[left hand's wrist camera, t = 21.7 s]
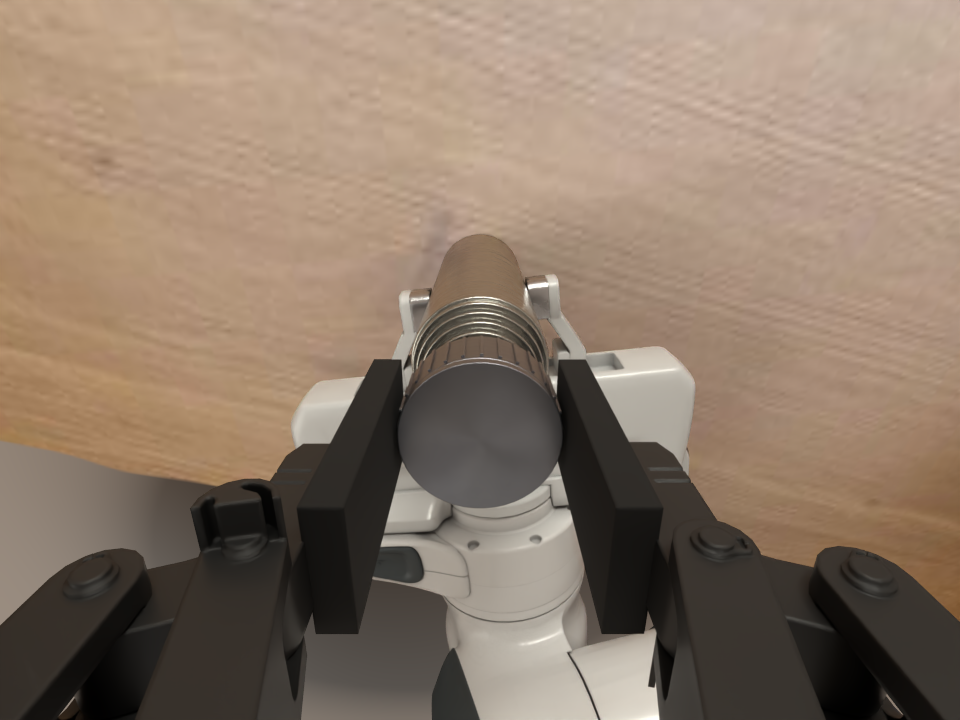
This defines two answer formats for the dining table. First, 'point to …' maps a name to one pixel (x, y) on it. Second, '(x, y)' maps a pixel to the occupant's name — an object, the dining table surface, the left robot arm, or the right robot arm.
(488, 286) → the bottle
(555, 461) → the cap
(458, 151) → the dining table surface
